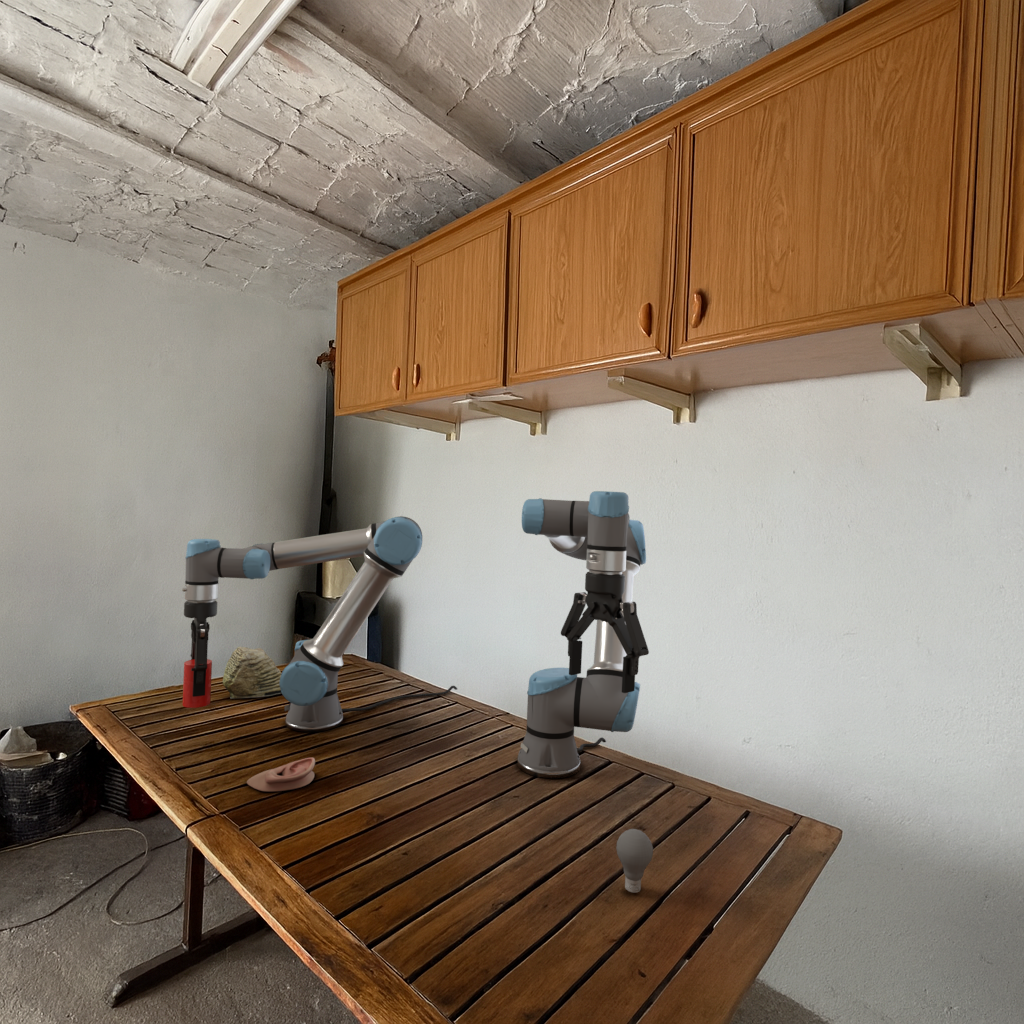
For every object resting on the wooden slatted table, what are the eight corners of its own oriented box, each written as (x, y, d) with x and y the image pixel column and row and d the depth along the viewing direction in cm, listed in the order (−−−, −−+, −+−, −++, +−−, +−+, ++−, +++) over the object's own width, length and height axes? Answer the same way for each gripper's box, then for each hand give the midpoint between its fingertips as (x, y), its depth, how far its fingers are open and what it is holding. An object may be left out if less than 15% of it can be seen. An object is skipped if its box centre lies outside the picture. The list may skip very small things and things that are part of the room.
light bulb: (610, 879, 108) (613, 822, 108) (644, 879, 109) (647, 822, 109) (619, 902, 102) (622, 840, 102) (655, 901, 103) (658, 840, 103)
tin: (213, 705, 159) (214, 663, 159) (185, 709, 155) (187, 666, 155) (207, 698, 164) (208, 657, 164) (180, 702, 160) (181, 660, 160)
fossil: (218, 695, 195) (220, 647, 195) (278, 685, 208) (279, 640, 207) (228, 703, 189) (230, 653, 188) (289, 692, 201) (290, 645, 201)
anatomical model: (238, 769, 136) (269, 749, 147) (238, 787, 136) (269, 766, 147) (295, 777, 133) (322, 756, 144) (294, 796, 133) (321, 773, 144)
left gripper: (181, 595, 166) (178, 682, 166) (187, 607, 149) (183, 705, 149) (213, 594, 169) (209, 679, 170) (222, 606, 153) (218, 701, 153)
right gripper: (546, 565, 128) (541, 669, 129) (645, 581, 109) (639, 703, 109) (572, 564, 133) (568, 664, 133) (671, 579, 114) (666, 696, 114)
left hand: (197, 691), depth 160 cm, fingers closed on tin, 6 cm apart
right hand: (600, 682), depth 121 cm, fingers open, 13 cm apart
